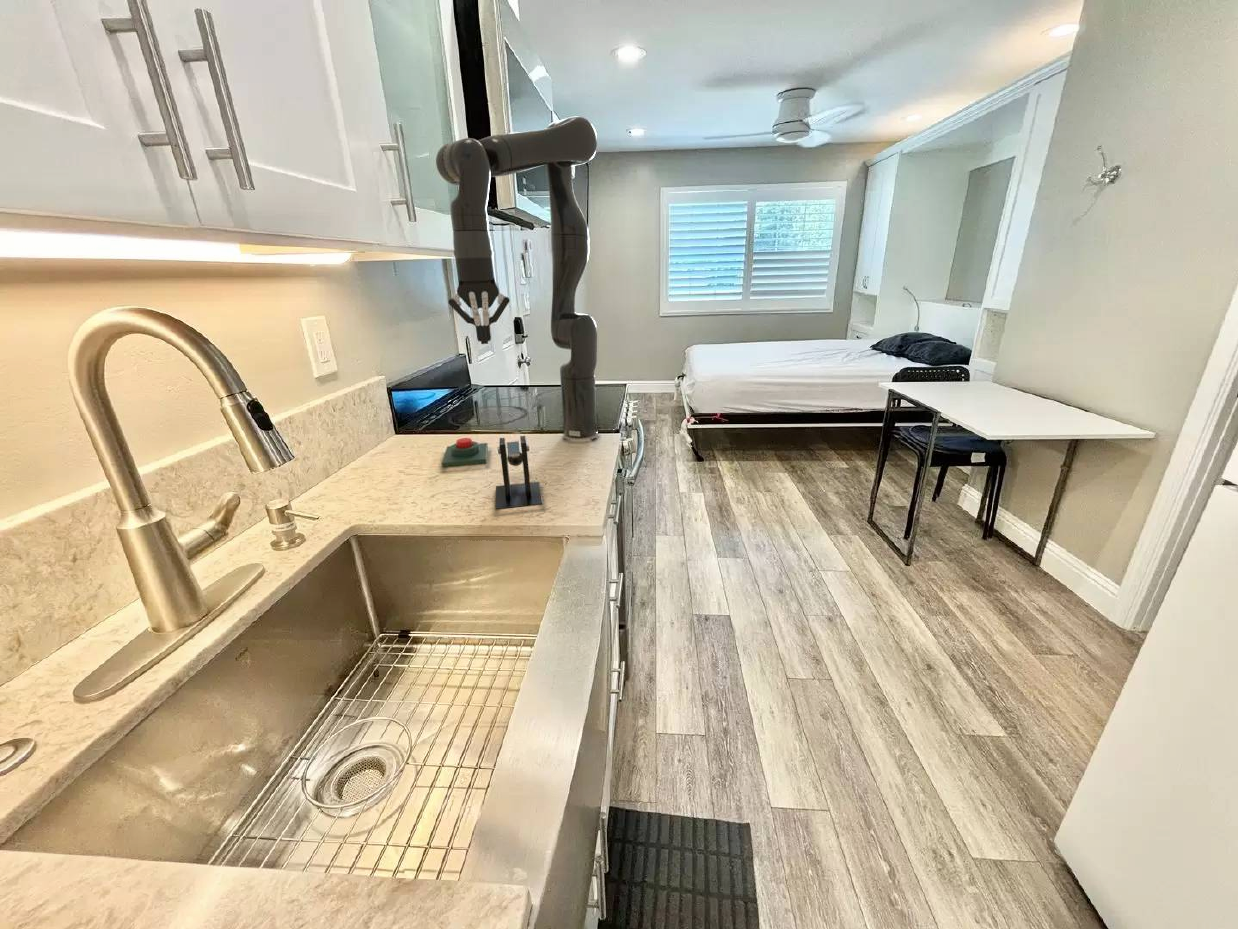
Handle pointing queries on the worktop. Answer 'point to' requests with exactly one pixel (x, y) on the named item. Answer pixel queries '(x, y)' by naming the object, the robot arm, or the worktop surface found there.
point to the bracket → (516, 492)
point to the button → (464, 443)
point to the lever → (514, 453)
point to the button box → (465, 455)
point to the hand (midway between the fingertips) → (484, 343)
